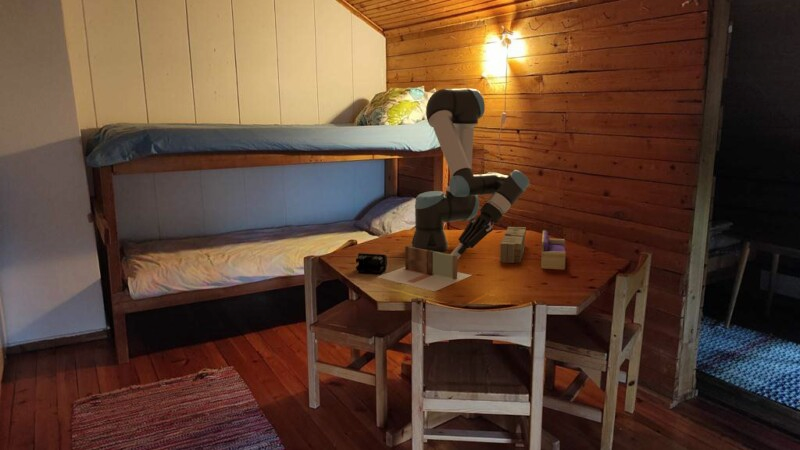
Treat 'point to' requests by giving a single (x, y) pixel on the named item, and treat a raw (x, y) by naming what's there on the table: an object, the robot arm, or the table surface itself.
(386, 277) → the card
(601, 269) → the table surface
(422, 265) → the fence fixed
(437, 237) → the robot arm
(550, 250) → the toy sofa
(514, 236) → the block tower
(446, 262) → the fence gate
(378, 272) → the end cap
